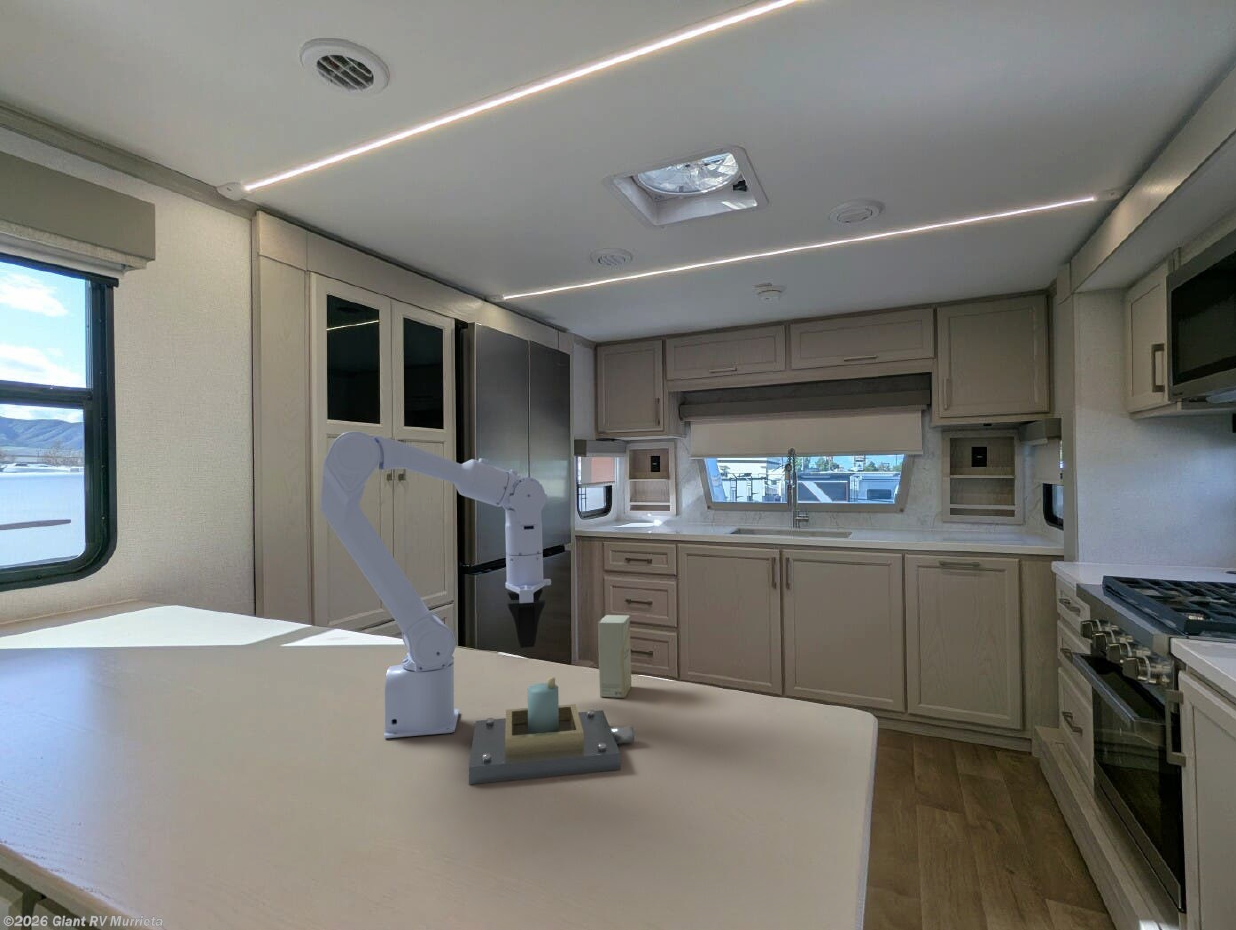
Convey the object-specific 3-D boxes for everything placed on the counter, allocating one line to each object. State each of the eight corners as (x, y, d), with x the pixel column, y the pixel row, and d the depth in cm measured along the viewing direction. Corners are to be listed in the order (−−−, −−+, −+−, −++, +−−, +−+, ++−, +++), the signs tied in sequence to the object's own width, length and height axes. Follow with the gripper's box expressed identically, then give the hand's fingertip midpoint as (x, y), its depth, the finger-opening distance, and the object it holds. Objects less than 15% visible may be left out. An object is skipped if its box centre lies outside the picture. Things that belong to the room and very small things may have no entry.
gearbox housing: (468, 784, 71) (468, 749, 71) (475, 735, 85) (475, 706, 85) (644, 767, 75) (643, 734, 75) (623, 722, 88) (623, 694, 88)
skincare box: (625, 699, 98) (623, 623, 98) (598, 697, 99) (597, 622, 99) (631, 685, 104) (630, 614, 104) (606, 684, 105) (605, 613, 105)
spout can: (528, 742, 77) (527, 685, 77) (527, 729, 81) (527, 675, 81) (560, 739, 78) (559, 682, 78) (557, 726, 82) (557, 673, 82)
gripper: (552, 557, 89) (555, 650, 89) (547, 546, 103) (549, 626, 103) (504, 560, 88) (506, 654, 88) (505, 548, 102) (507, 629, 102)
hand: (526, 640), depth 95 cm, fingers open, 7 cm apart
